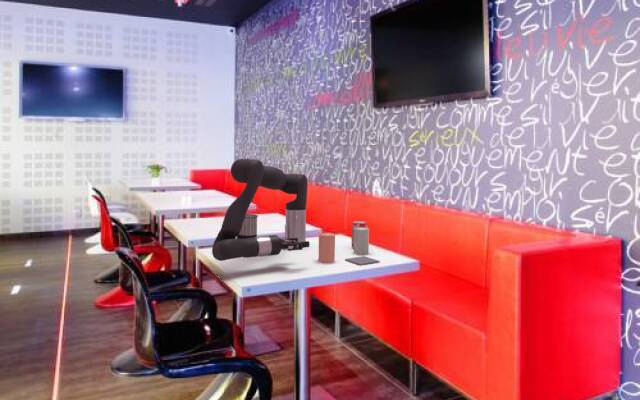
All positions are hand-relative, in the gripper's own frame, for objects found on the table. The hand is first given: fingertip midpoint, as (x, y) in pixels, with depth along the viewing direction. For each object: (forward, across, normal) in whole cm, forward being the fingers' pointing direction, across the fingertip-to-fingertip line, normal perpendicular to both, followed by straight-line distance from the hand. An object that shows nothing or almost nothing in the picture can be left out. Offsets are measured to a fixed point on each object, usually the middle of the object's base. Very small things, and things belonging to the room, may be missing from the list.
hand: (303, 242), depth 194 cm
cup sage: (+32, +4, +8) cm, 34 cm away
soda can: (+38, +13, +8) cm, 42 cm away
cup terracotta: (+12, 0, +9) cm, 14 cm away
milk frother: (-8, +38, +9) cm, 39 cm away
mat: (+24, -8, +9) cm, 26 cm away
